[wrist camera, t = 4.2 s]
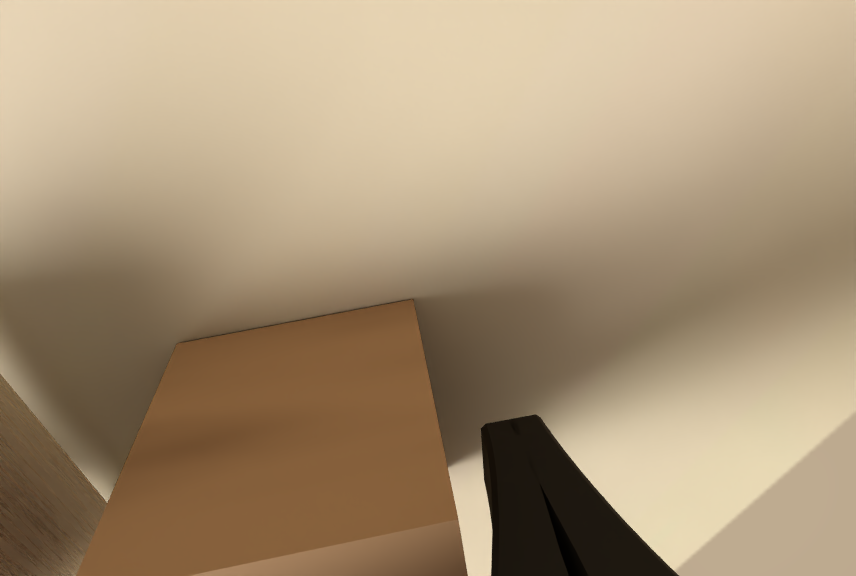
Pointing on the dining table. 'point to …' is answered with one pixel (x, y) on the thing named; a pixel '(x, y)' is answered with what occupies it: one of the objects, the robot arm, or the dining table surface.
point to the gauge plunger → (40, 497)
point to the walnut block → (288, 459)
